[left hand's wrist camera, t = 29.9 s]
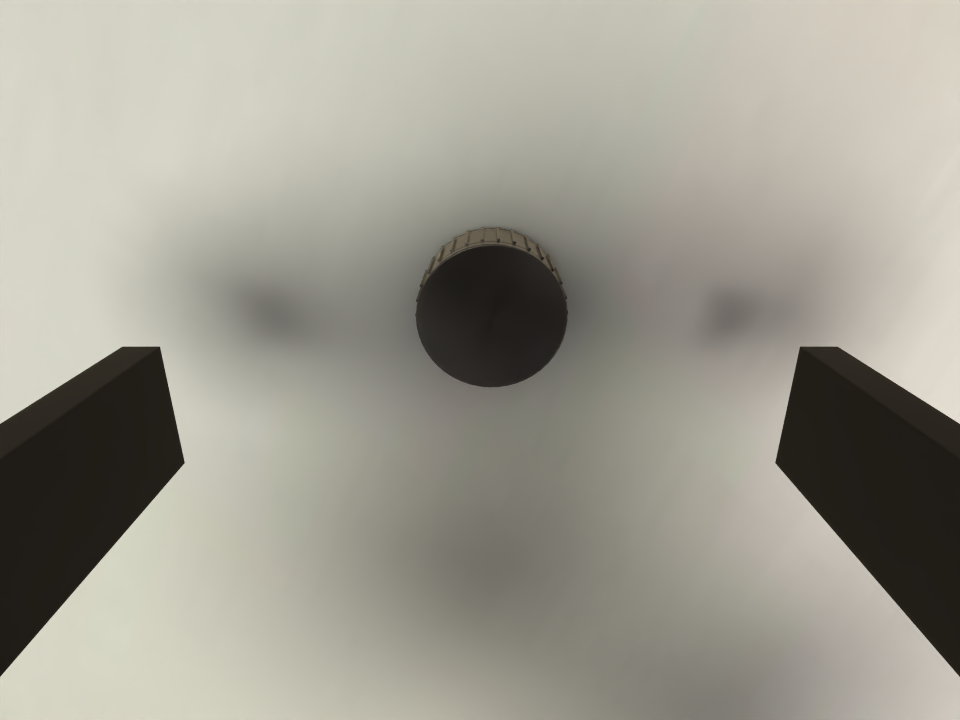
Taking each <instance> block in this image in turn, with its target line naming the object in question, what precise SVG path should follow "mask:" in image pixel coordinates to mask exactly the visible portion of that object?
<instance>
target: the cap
mask: <svg viewBox="0 0 960 720" xmlns="http://www.w3.org/2000/svg"><path fill="white" fill-rule="evenodd" d="M562 284H563V283H562V281H561V279H560V276H559V274H558V271H557V269H556V267H554V266H553V264H552V261H551V259H550V256H549V255H547V256H546V255H545V253H544V252H543V251H542V250H541V247H540V245H539V244H537V245H536V244H535V243H533V242H532V241H530V240H529V239H528V236H526V235H525V237H524V236H522V235H520V234H517V233H514V230H511V231H507V230H503V229H499V227H496V229H484V227H482V228H481V230H475V231H472V232H469V231H466V234H464V235H461V236H459V237H457V238H456V237H454V238H453V239H452V241H451V242H450V243H449V244H447V245H446V246H445V247H444V246H442V247H441V249H440V252H439V253H438V254H437V256H436V257H435V258H434V257H433V258H432V260H431V262H430V265H429V268H428V270H426V271H425V274H424V277H423V279H422V282H421V285H420V287H421V288H420V291H419V294H418V296H417V299H416V302H417V308H416V322H417V329H418V333H419V337H420V339H421V342H422V344H423V346H424V348H425V350H426V352H427V353H428V355H429V356H430V358H431V359H432V360H433V361H434V362H435V363H436V364H437V366H438V367H440V368H441V369H442V370H443V371H444V372H446V373H447V374H449V375H450V376H452V377H454V378H456V379H458V380H460V381H462V382H465V383H468V384H471V385H476V386H482V387H501V386H508V385H511V384H515V383H518V382H521V381H523V380H525V379H527V378H529V377H531V376H533V375H534V374H536V373H537V372H538V371H540V370H541V369H542V368H543V367H544V366H546V365H547V364H548V363H549V361H550V360H551V359H552V358H553V357H554V355H555V354H556V352H557V350H558V349H559V347H560V345H561V343H562V341H563V338H564V334H565V331H566V326H567V314H568V311H567V304H566V300H565V299H567V297H566V294H565V292H564V289H563V287H562Z"/></svg>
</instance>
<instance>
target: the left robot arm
mask: <svg viewBox="0 0 960 720" xmlns="http://www.w3.org/2000/svg"><path fill="white" fill-rule="evenodd" d="M184 463H185V462H184V458H183V453H182V448H181V444H180V439H179V434H178V430H177V425H176V420H175V415H174V411H173V406H172V401H171V397H170V392H169V387H168V383H167V378H166V373H165V369H164V364H163V359H162V354H161V350H160V347H121V348H120V349H118V350H117V351H115V352H113V353H112V354H110V355H109V356H107V357H105V358H104V359H102V360H101V361H99V362H98V363H96V364H94V365H93V366H91V367H90V368H88V369H86V370H85V371H83V372H82V373H80V374H79V375H77V376H75V377H74V378H72V379H71V380H69V381H68V382H66V383H64V384H63V385H61V386H60V387H58V388H56V389H55V390H53V391H52V392H50V393H49V394H47V395H45V396H44V397H42V398H41V399H39V400H37V401H36V402H34V403H33V404H31V405H30V406H28V407H26V408H25V409H23V410H22V411H20V412H18V413H17V414H15V415H14V416H12V417H11V418H9V419H7V420H6V421H4V422H3V423H1V424H0V676H1V675H2V674H3V673H4V672H5V670H6V669H7V668H8V667H9V666H10V665H11V664H12V662H13V661H14V660H15V659H16V658H17V657H18V655H19V654H20V653H21V652H22V651H23V650H24V648H25V647H26V646H27V645H28V644H29V643H30V642H31V640H32V639H33V638H34V637H35V636H36V635H37V633H38V632H39V631H40V630H41V629H42V628H43V626H44V625H45V624H46V623H47V622H48V621H49V620H50V618H51V617H52V616H53V615H54V614H55V613H56V611H57V610H58V609H59V608H60V607H61V606H62V604H63V603H64V602H65V601H66V600H67V599H68V598H69V596H70V595H71V594H72V593H73V592H74V591H75V589H76V588H77V587H78V586H79V585H80V584H81V582H82V581H83V580H84V579H85V578H86V577H87V575H88V574H89V573H90V572H91V571H92V570H93V569H94V567H95V566H96V565H97V564H98V563H99V562H100V560H101V559H102V558H103V557H104V556H105V555H106V553H107V552H108V551H109V550H110V549H111V548H112V547H113V545H114V544H115V543H116V542H117V541H118V540H119V538H120V537H121V536H122V535H123V534H124V533H125V531H126V530H127V529H128V528H129V527H130V526H131V525H132V523H133V522H134V521H135V520H136V519H137V518H138V516H139V515H140V514H141V513H142V512H143V511H144V509H145V508H146V507H147V506H148V505H149V504H150V503H151V501H152V500H153V499H154V498H155V497H156V496H157V494H158V493H159V492H160V491H161V490H162V489H163V487H164V486H165V485H166V484H167V483H168V482H169V480H170V479H171V478H172V477H173V476H174V475H175V474H176V472H177V471H178V470H179V469H180V468H181V467H182V465H183V464H184ZM775 463H776V464H777V465H778V467H779V468H780V469H781V470H782V471H783V472H784V474H785V475H786V476H787V477H788V478H789V479H790V480H791V482H792V483H793V484H794V485H795V486H796V487H797V489H798V490H799V491H800V492H801V493H802V494H803V496H804V497H805V498H806V499H807V500H808V501H809V503H810V504H811V505H812V506H813V507H814V508H815V509H816V511H817V512H818V513H819V514H820V515H821V516H822V518H823V519H824V520H825V521H826V522H827V523H828V525H829V526H830V527H831V528H832V529H833V530H834V531H835V533H836V534H837V535H838V536H839V537H840V538H841V540H842V541H843V542H844V543H845V544H846V545H847V547H848V548H849V549H850V550H851V551H852V552H853V553H854V555H855V556H856V557H857V558H858V559H859V560H860V562H861V563H862V564H863V565H864V566H865V567H866V569H867V570H868V571H869V572H870V573H871V574H872V575H873V577H874V578H875V579H876V580H877V581H878V582H879V584H880V585H881V586H882V587H883V588H884V589H885V591H886V592H887V593H888V594H889V595H890V596H891V598H892V599H893V600H894V601H895V602H896V603H897V604H898V606H899V607H900V608H901V609H902V610H903V611H904V613H905V614H906V615H907V616H908V617H909V618H910V620H911V621H912V622H913V623H914V624H915V625H916V626H917V628H918V629H919V630H920V631H921V632H922V633H923V635H924V636H925V637H926V638H927V639H928V640H929V642H930V643H931V644H932V645H933V646H934V647H935V648H936V650H937V651H938V652H939V653H940V654H941V655H942V657H943V658H944V659H945V660H946V661H947V662H948V664H949V665H950V666H951V667H952V668H953V669H954V670H955V672H956V673H957V674H958V675H959V676H960V424H959V423H957V422H956V421H954V420H953V419H951V418H949V417H948V416H946V415H945V414H943V413H942V412H940V411H938V410H937V409H935V408H934V407H932V406H930V405H929V404H927V403H926V402H924V401H923V400H921V399H919V398H918V397H916V396H915V395H913V394H911V393H910V392H908V391H907V390H905V389H904V388H902V387H900V386H899V385H897V384H896V383H894V382H892V381H891V380H889V379H888V378H886V377H885V376H883V375H881V374H880V373H878V372H877V371H875V370H874V369H872V368H870V367H869V366H867V365H866V364H864V363H862V362H861V361H859V360H858V359H856V358H855V357H853V356H851V355H850V354H848V353H847V352H845V351H843V350H842V349H840V348H839V347H800V350H799V354H798V359H797V364H796V369H795V373H794V378H793V383H792V387H791V392H790V397H789V401H788V406H787V411H786V415H785V420H784V425H783V430H782V434H781V439H780V444H779V448H778V453H777V458H776V462H775Z"/></svg>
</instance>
